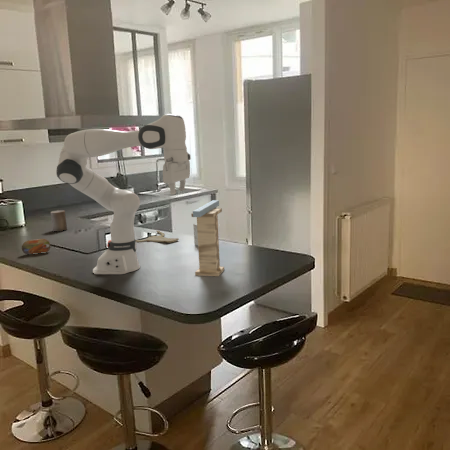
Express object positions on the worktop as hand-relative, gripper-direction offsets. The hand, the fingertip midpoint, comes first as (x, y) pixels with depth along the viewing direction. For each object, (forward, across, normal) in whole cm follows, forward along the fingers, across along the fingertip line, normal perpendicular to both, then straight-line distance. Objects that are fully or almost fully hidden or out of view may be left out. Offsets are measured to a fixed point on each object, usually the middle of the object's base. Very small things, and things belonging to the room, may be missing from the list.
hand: (177, 192), depth 182 cm
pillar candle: (+42, +106, +132) cm, 174 cm away
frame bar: (+12, +27, -3) cm, 30 cm away
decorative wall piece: (+42, +87, +49) cm, 108 cm away
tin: (+42, +47, +106) cm, 123 cm away
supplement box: (+42, +77, +17) cm, 89 cm away
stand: (+41, +27, -3) cm, 49 cm away
